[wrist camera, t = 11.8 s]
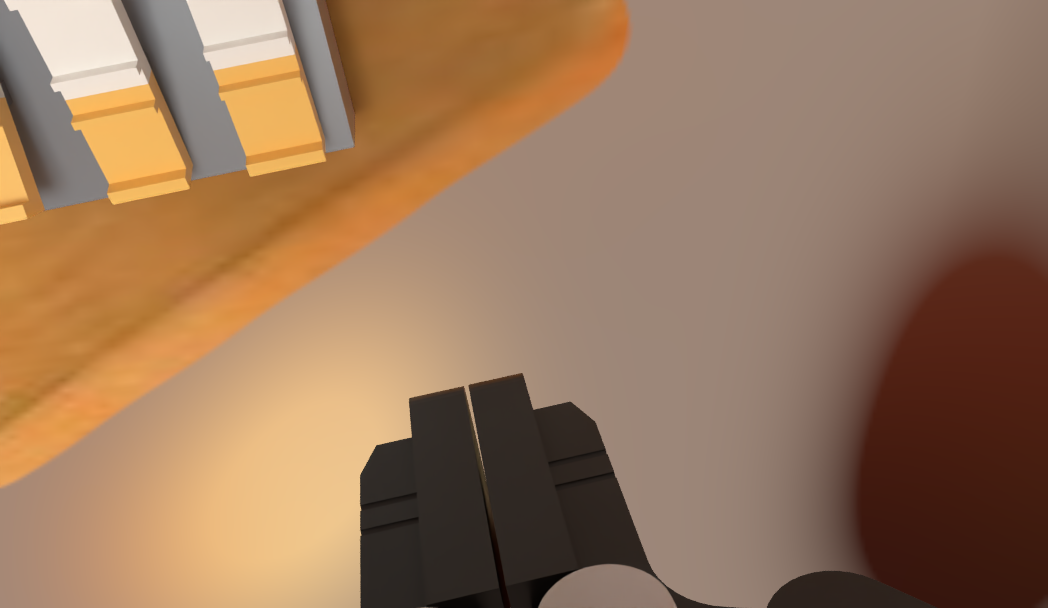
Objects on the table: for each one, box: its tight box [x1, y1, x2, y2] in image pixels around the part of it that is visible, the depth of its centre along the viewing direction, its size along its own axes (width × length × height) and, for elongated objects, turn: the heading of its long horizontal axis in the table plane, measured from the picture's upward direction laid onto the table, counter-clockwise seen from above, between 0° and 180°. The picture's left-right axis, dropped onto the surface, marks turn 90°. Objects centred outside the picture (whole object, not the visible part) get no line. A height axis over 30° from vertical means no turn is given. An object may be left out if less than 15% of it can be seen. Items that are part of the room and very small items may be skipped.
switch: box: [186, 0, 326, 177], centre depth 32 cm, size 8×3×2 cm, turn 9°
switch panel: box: [0, 0, 355, 211], centre depth 34 cm, size 10×15×5 cm
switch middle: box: [4, 0, 193, 205], centre depth 32 cm, size 8×3×2 cm, turn 9°
